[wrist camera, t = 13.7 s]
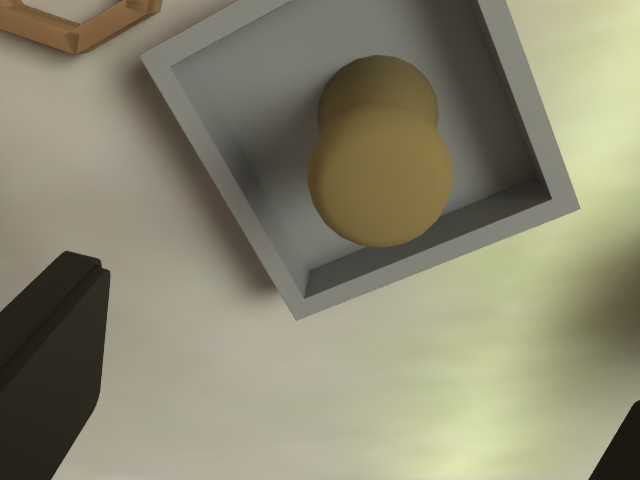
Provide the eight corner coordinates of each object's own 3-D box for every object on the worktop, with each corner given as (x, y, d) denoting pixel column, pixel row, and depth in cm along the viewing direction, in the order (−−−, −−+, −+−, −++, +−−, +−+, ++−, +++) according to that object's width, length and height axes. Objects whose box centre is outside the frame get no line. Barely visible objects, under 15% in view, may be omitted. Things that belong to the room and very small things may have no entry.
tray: (167, 44, 30) (138, 55, 27) (448, -113, 27) (460, -125, 23) (303, 284, 36) (295, 320, 32) (556, 180, 32) (580, 208, 28)
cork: (439, 50, 29) (474, 98, 19) (438, 172, 31) (468, 271, 21) (313, 58, 29) (282, 108, 19) (321, 177, 32) (298, 275, 22)
